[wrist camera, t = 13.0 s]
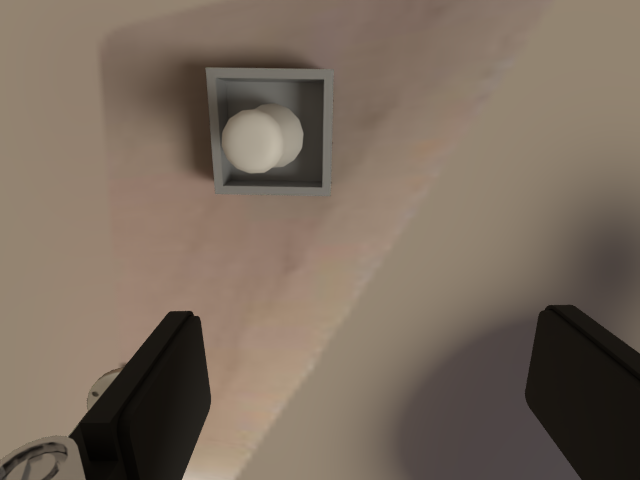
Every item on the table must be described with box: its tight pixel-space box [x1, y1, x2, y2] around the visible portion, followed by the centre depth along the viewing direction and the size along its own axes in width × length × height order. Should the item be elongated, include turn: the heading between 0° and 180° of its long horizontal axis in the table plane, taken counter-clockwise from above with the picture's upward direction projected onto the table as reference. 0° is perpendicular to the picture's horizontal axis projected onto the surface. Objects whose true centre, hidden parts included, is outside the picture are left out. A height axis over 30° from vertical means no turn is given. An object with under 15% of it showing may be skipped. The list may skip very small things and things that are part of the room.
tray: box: [206, 67, 334, 196], centre depth 35 cm, size 11×11×4 cm
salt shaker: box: [222, 103, 304, 174], centre depth 30 cm, size 6×6×13 cm
